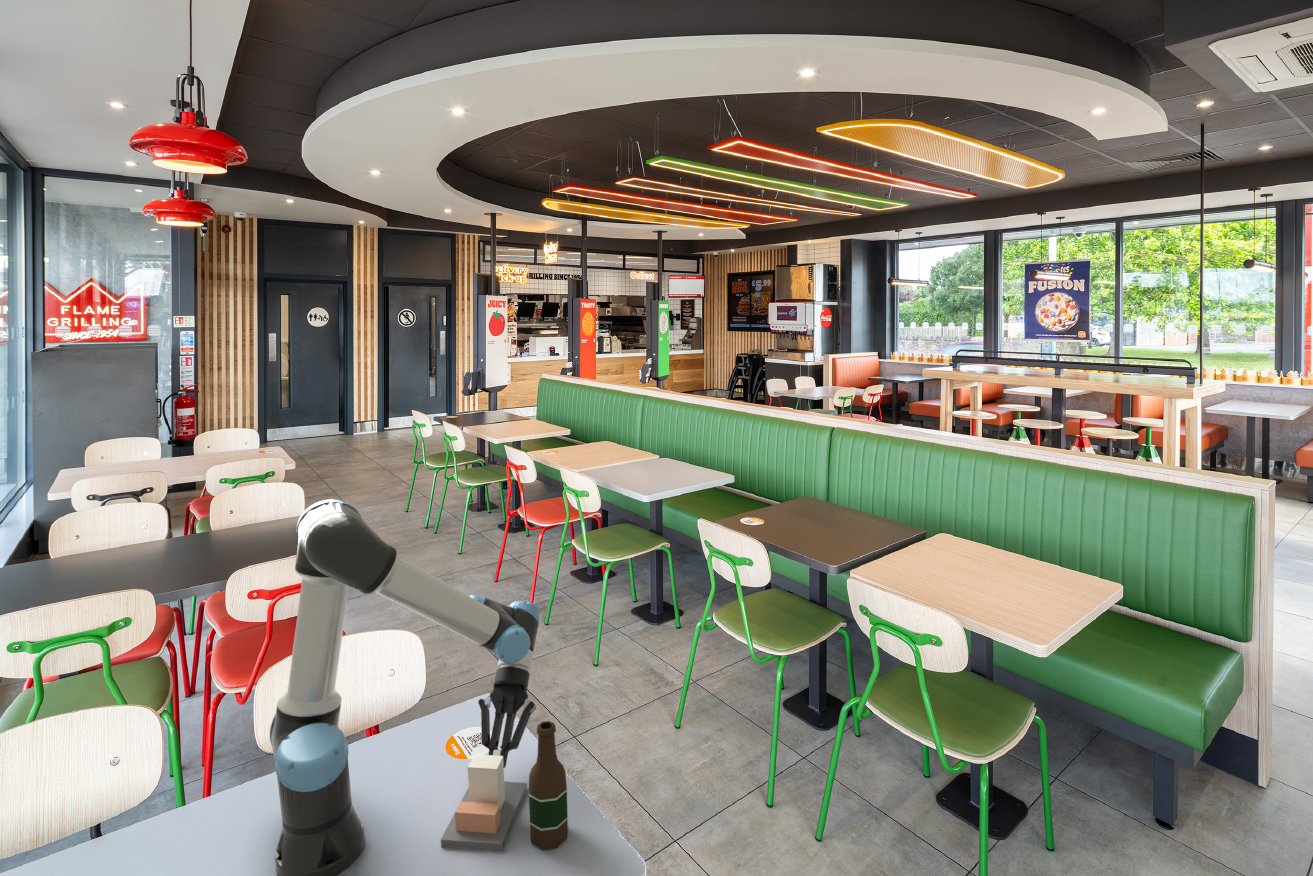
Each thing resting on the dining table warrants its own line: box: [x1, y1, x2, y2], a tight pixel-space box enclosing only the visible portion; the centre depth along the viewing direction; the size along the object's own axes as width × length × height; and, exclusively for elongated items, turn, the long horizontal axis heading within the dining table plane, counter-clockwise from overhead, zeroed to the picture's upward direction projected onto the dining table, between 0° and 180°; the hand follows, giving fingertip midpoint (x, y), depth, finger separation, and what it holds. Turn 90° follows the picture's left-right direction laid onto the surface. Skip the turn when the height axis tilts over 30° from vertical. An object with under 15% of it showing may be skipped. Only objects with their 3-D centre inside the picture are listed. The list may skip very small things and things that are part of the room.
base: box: [440, 780, 528, 852], centre depth 135 cm, size 12×17×2 cm
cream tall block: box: [467, 753, 505, 810], centre depth 135 cm, size 6×4×10 cm, turn 85°
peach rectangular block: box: [454, 800, 501, 833], centre depth 131 cm, size 8×3×4 cm, turn 85°
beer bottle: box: [528, 720, 569, 851], centre depth 128 cm, size 8×8×24 cm
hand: (492, 784), depth 139 cm, fingers closed
